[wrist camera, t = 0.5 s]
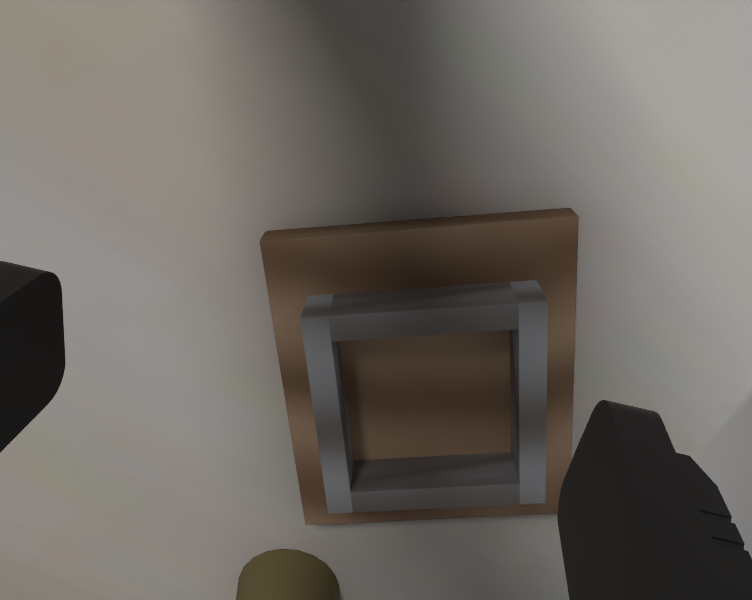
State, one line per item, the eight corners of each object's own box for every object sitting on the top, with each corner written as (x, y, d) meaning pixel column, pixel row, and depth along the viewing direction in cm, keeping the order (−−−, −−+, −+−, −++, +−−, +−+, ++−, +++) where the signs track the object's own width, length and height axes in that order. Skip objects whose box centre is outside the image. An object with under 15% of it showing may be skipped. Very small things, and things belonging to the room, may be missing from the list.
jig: (265, 231, 30) (247, 258, 27) (570, 208, 30) (594, 232, 26) (309, 506, 36) (299, 559, 33) (562, 493, 36) (581, 547, 32)
